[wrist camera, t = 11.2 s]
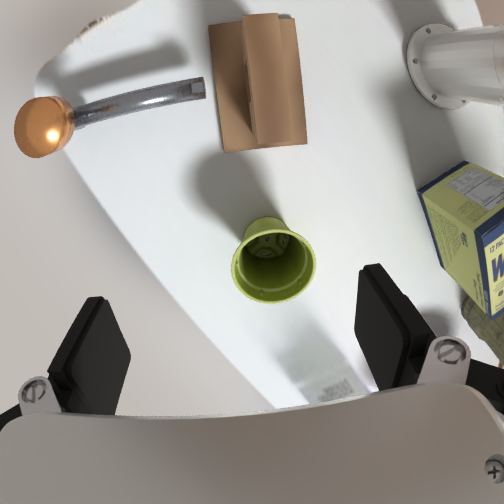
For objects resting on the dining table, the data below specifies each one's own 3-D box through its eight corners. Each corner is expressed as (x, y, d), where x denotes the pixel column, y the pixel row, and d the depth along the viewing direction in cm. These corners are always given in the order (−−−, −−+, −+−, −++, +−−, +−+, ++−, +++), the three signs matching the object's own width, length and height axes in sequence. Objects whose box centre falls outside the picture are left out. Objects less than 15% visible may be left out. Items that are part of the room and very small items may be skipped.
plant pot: (231, 203, 41) (230, 230, 33) (304, 204, 42) (320, 230, 34) (231, 267, 45) (231, 304, 38) (298, 267, 46) (311, 302, 38)
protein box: (440, 268, 48) (492, 323, 34) (414, 190, 41) (481, 235, 27) (484, 236, 45) (540, 282, 32) (464, 158, 39) (536, 190, 25)
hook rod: (203, 63, 31) (192, 51, 22) (210, 113, 34) (201, 118, 25) (56, 102, 31) (10, 108, 22) (64, 146, 34) (20, 164, 25)
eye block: (293, 19, 31) (314, -7, 21) (306, 143, 38) (331, 159, 28) (208, 27, 31) (199, 1, 21) (224, 151, 38) (221, 171, 28)
